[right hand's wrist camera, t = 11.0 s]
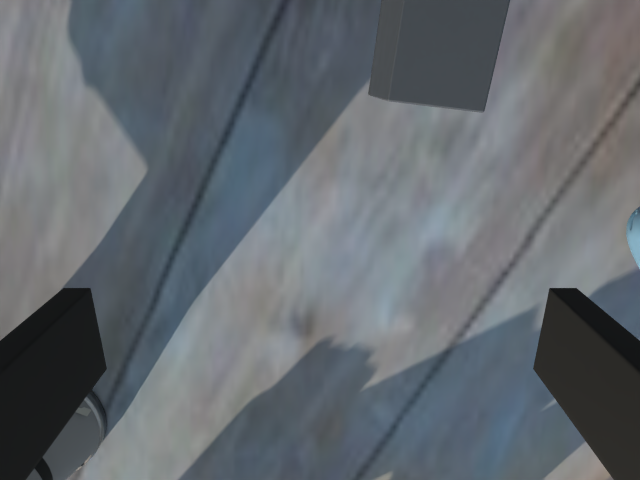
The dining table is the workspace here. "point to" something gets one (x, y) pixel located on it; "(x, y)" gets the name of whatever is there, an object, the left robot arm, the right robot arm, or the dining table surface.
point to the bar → (437, 52)
